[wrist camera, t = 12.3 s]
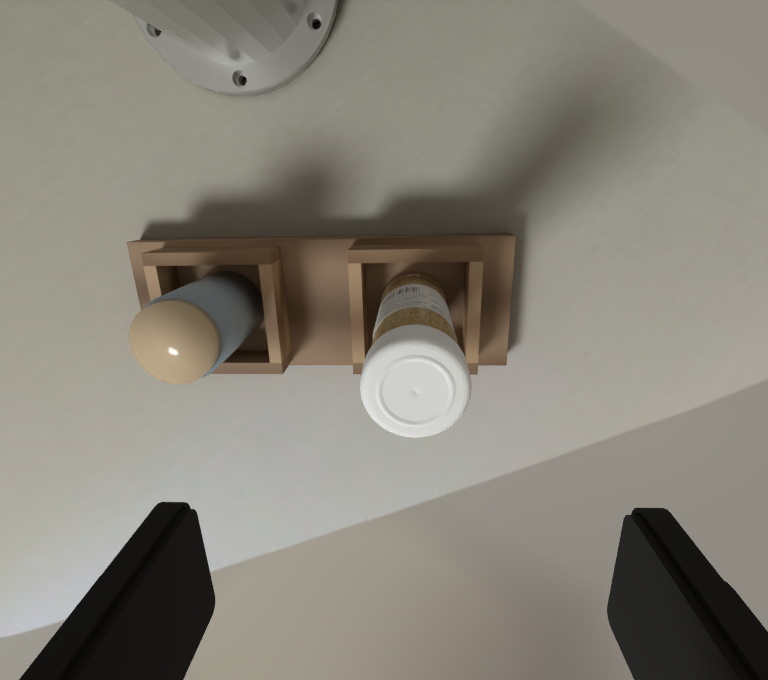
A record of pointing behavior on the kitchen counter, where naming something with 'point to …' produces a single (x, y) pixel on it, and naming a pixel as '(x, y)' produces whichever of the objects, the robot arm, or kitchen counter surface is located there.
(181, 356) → the spice pot
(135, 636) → the robot arm
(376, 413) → the sprinkles bottle
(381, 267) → the spice rail
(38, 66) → the kitchen counter surface
